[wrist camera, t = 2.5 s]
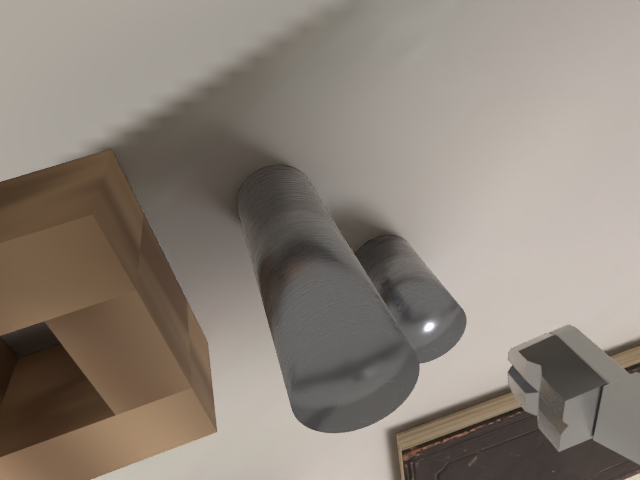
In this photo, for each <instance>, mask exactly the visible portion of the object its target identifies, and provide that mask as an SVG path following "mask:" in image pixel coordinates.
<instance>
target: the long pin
mask: <svg viewBox="0 0 640 480" xmlns="http://www.w3.org/2000/svg"><path fill="white" fill-rule="evenodd" d="M237 209H238V213H239V216H240V220H241V224H242V228H243V231H244V235H245V239H246V242H247V246H248V250H249V253H250V257H251V261H252V264H253V268H254V272H255V275H256V279H257V283H258V286H259V290H260V294H261V297H262V301H263V305H264V308H265V312H266V316H267V319H268V323H269V327H270V330H271V334H272V338H273V341H274V345H275V349H276V353H277V356H278V360H279V364H280V367H281V371H282V375H283V378H284V382H285V386H286V389H287V393H288V397H289V400H290V404H291V408H292V411H293V413H294V415H295V417H296V418H297V419H298V421H299V422H301V423H302V424H303V425H305V426H306V427H308V428H310V429H313V430H315V431H319V432H326V433H342V432H349V431H354V430H357V429H361V428H364V427H367V426H369V425H371V424H374V423H376V422H378V421H379V420H381V419H383V418H385V417H386V416H388V415H389V414H390V413H392V412H393V411H394V410H396V409H397V408H398V407H399V406H400V405H401V404H402V403H403V402H404V401H405V400H406V399H407V397H408V396H409V395H410V393H411V392H412V390H413V388H414V387H415V384H416V382H417V379H418V376H419V360H418V357H417V355H416V353H415V351H414V349H413V348H412V346H411V345H410V343H409V341H408V340H407V338H406V337H405V335H404V333H403V332H402V330H401V328H400V327H399V325H398V324H397V322H396V320H395V319H394V317H393V316H392V314H391V312H390V311H389V309H388V307H387V306H386V304H385V303H384V301H383V299H382V298H381V296H380V295H379V293H378V291H377V290H376V288H375V286H374V285H373V283H372V282H371V280H370V278H369V277H368V275H367V274H366V272H365V270H364V269H363V267H362V265H361V264H360V262H359V261H358V259H357V257H356V256H355V254H354V253H353V251H352V249H351V248H350V246H349V245H348V243H347V241H346V240H345V238H344V236H343V235H342V233H341V232H340V230H339V228H338V227H337V225H336V224H335V222H334V220H333V219H332V217H331V215H330V214H329V212H328V211H327V209H326V207H325V206H324V204H323V203H322V201H321V199H320V198H319V196H318V194H317V193H316V191H315V190H314V188H313V186H312V185H311V183H310V182H309V180H308V179H307V177H306V176H305V175H304V174H303V173H301V172H300V171H298V170H297V169H295V168H292V167H289V166H285V165H272V166H267V167H264V168H262V169H259V170H258V171H256V172H254V173H253V174H251V175H250V176H249V177H248V178H247V179H246V180H245V182H244V183H243V185H242V186H241V188H240V190H239V193H238V197H237Z"/></svg>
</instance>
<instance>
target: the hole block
mask: <svg viewBox="0 0 640 480" xmlns="http://www.w3.org/2000/svg"><path fill="white" fill-rule="evenodd" d="M41 322H45V323H46V324H47V326H48V327H49V328H50V330H51V331H52V332H53V334H54V335H55V336H56V337H57V339H58V340H59V341H60V343H61V344H58V345H55V346H52V347H50V348H47V349H44V350H41V351H38V352H35V353H32V354H29V355H26V356H23V357H20V358H18V357H17V356H16V355H15V354H14V353H13V352H12V350H11V349H10V348H9V347H8V346H7V345H6V343H5V342H4V341H3V340H2V339H1V338H0V480H90V479H93V478H96V477H98V476H101V475H104V474H106V473H109V472H112V471H114V470H117V469H120V468H122V467H125V466H128V465H130V464H133V463H136V462H138V461H141V460H144V459H146V458H149V457H151V456H154V455H157V454H159V453H162V452H165V451H167V450H170V449H173V448H175V447H178V446H181V445H183V444H186V443H189V442H191V441H194V440H197V439H199V438H202V437H205V436H207V435H210V434H213V433H215V432H217V427H216V417H215V407H214V398H213V388H212V379H211V369H210V359H209V350H208V342H207V340H206V338H205V336H204V334H203V332H202V330H201V328H200V326H199V324H198V322H197V320H196V318H195V316H194V314H193V312H192V310H191V308H190V306H189V304H188V302H187V300H186V298H185V296H184V294H183V292H182V290H181V288H180V286H179V284H178V282H177V280H176V278H175V276H174V274H173V272H172V270H171V268H170V266H169V264H168V262H167V260H166V258H165V256H164V254H163V252H162V250H161V248H160V245H159V243H158V241H157V239H156V237H155V235H154V233H153V231H152V229H151V227H150V225H149V223H148V221H147V219H146V217H145V215H144V213H143V211H142V209H141V207H140V205H139V203H138V201H137V199H136V197H135V195H134V193H133V191H132V189H131V187H130V185H129V183H128V181H127V179H126V177H125V175H124V173H123V171H122V169H121V167H120V165H119V163H118V161H117V159H116V157H115V155H114V153H113V151H112V149H110V150H106V151H103V152H100V153H96V154H93V155H89V156H86V157H83V158H79V159H76V160H73V161H69V162H66V163H63V164H59V165H56V166H52V167H49V168H46V169H42V170H39V171H36V172H32V173H29V174H26V175H22V176H19V177H16V178H12V179H9V180H5V181H2V182H0V336H2V335H5V334H8V333H11V332H14V331H17V330H20V329H23V328H26V327H29V326H32V325H35V324H38V323H41Z"/></svg>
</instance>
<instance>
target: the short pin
mask: <svg viewBox="0 0 640 480" xmlns="http://www.w3.org/2000/svg"><path fill="white" fill-rule="evenodd" d="M355 256H356V257H357V259H358V261H359V262H360V264H361V265H362V267H363V269H364V270H365V272H366V274H367V275H368V277H369V278H370V280H371V282H372V283H373V285H374V286H375V288H376V290H377V291H378V293H379V295H380V296H381V298H382V299H383V301H384V303H385V304H386V306H387V307H388V309H389V311H390V312H391V314H392V316H393V317H394V319H395V320H396V322H397V324H398V325H399V327H400V328H401V330H402V332H403V333H404V335H405V337H406V338H407V340H408V341H409V343H410V345H411V346H412V348H413V349H414V351H415V353H416V355H417V357H418V360H419V363H424V362H428V361H431V360H434V359H436V358H438V357H440V356H442V355H444V354H445V353H446V352H448V351H449V350H450V349H451V348H453V347H454V346H455V344H456V343H457V342H458V341H459V340H460V338H461V336H462V335H463V333H464V330H465V327H466V315H465V312H464V311H463V309H462V308H461V307H460V305H459V304H458V303H457V302H456V301H455V299H454V298H453V297H452V296H451V295H450V293H449V292H448V291H447V290H446V289H445V287H444V286H443V285H442V284H441V282H440V281H439V280H438V279H437V278H436V276H435V275H434V274H433V273H432V272H431V270H430V269H429V268H428V267H427V266H426V264H425V263H424V262H423V261H422V259H421V258H420V257H419V256H418V255H417V253H416V252H415V251H414V250H413V249H412V247H411V246H410V245H409V244H408V243H407V241H405V240H404V239H403V238H401V237H398V236H394V235H384V236H380V237H376V238H374V239H372V240H370V241H368V242H367V243H365V244H364V245H363V246H362V247H361V248H360V249H359V250H358V251H357V252H356V254H355Z"/></svg>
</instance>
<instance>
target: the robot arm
mask: <svg viewBox="0 0 640 480" xmlns="http://www.w3.org/2000/svg"><path fill="white" fill-rule="evenodd" d="M508 360H509V362H510V363H511V364H512V367H511V368H510V370H509V371H508V383H509V386H510V389H511V391H512V394H513V395H514V397H515V399H516V400H517V402H518V403H519V404H520V406H521V407H522V408H523V409H524V411H526V412H528V413H531V414H533V415H535V416H537V418H538V428H539V429H540V430H541V431H542V433H543V434H544V435H545V436H546V437H547V439H548V440H549V441H550V442H551V443H552V445H553V446H554V447H555V448H556V449H557V451H558V452H560V451H563V450H565V449H567V448H570V447H572V446H575V445H577V444H579V443H582V442H584V441H586V440H589V439H591V438H593V440H594V441H596V442H598V443H600V444H601V445H603V446H605V447H607V448H609V449H611V450H613V451H615V452H617V453H618V454H620V455H622V456H624V457H626V458H628V459H630V460H632V461H634V462H635V463H637V464H639V465H640V373H638V372H635V373H632V374H629V373H628V372H627V371H626V370H625V369H624V368H622V367H621V366H620V365H619V364H618V363H617V362H615V361H614V360H613V359H612V358H611V357H609V356H608V355H607V354H606V353H605V352H604V351H602V350H601V349H600V348H599V347H598V346H597V345H595V344H594V343H593V342H592V341H591V340H590V339H588V338H587V337H586V336H585V335H584V334H583V333H581V332H580V331H579V330H578V329H577V328H576V327H574V326H571V325H566V326H563V327H561V328H558V329H556V330H554V331H552V332H549V333H545V334H543V335H541V336H538V337H536V338H534V339H531V340H529V341H527V342H525V343H522V344H520V345H518V346H515V347H513V348H511V349H510V350H509V352H508Z"/></svg>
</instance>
